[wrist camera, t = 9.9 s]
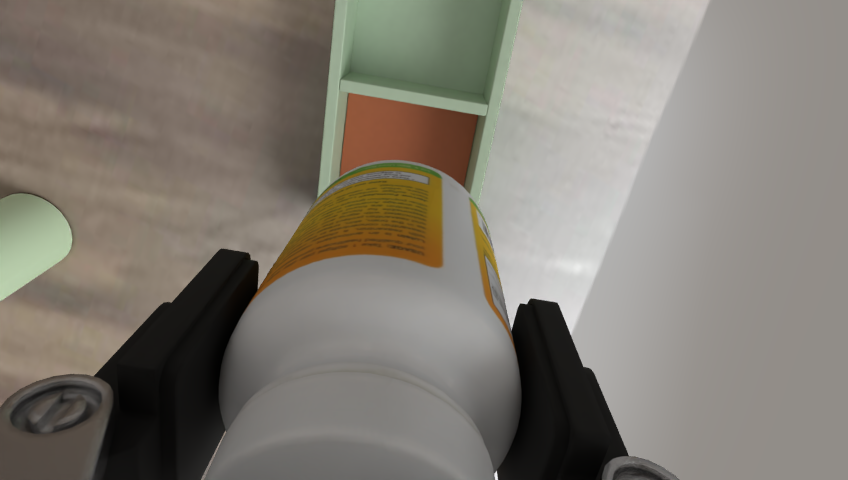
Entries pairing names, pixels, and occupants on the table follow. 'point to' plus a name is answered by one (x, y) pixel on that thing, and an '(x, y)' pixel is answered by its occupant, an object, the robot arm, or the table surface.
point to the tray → (416, 85)
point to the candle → (29, 240)
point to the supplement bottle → (375, 342)
